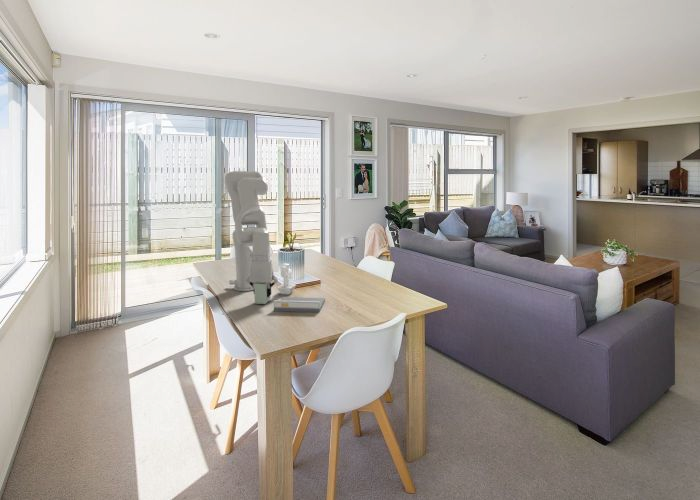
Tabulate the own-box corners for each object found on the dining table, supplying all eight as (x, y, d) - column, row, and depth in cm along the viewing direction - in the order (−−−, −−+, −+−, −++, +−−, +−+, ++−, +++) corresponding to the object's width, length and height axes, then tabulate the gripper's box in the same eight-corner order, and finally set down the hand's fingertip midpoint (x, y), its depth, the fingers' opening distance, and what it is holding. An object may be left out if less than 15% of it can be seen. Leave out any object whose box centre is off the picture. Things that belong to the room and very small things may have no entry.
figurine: (296, 291, 211) (296, 262, 209) (290, 296, 202) (289, 266, 200) (283, 290, 213) (282, 261, 210) (276, 295, 204) (275, 265, 201)
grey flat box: (273, 311, 180) (273, 301, 179) (282, 300, 196) (282, 290, 195) (319, 312, 178) (319, 302, 177) (324, 301, 194) (324, 291, 193)
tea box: (265, 303, 188) (265, 284, 186) (254, 303, 188) (254, 284, 187) (270, 298, 196) (270, 279, 194) (259, 298, 196) (259, 279, 194)
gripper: (240, 258, 185) (241, 297, 189) (277, 259, 184) (278, 299, 187) (245, 255, 192) (247, 293, 196) (281, 256, 191) (282, 294, 195)
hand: (262, 295), depth 192 cm, fingers closed on tea box, 5 cm apart
